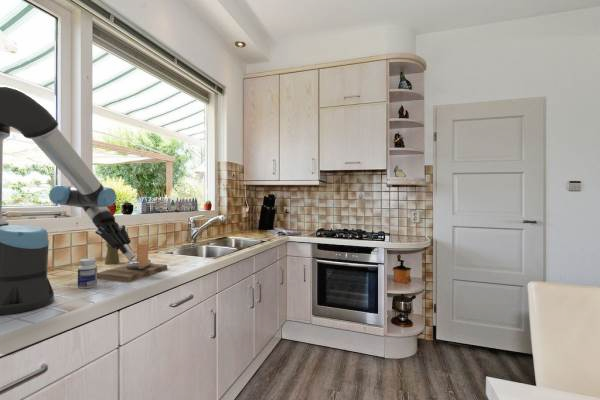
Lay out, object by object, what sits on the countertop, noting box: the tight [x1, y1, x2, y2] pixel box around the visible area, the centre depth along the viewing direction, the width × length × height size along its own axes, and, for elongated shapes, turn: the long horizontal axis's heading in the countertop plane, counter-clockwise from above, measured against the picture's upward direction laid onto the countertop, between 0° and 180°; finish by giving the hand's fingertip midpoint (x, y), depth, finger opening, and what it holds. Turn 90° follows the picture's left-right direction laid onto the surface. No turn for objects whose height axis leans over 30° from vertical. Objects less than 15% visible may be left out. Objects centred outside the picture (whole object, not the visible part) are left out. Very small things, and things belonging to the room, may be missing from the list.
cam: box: [126, 242, 152, 269], centre depth 126 cm, size 20×9×12 cm, turn 36°
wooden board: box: [97, 262, 168, 283], centre depth 124 cm, size 22×16×2 cm
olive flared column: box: [104, 242, 120, 266], centre depth 141 cm, size 6×6×11 cm
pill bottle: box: [77, 257, 98, 290], centre depth 105 cm, size 6×6×10 cm
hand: (132, 258), depth 120 cm, fingers closed
